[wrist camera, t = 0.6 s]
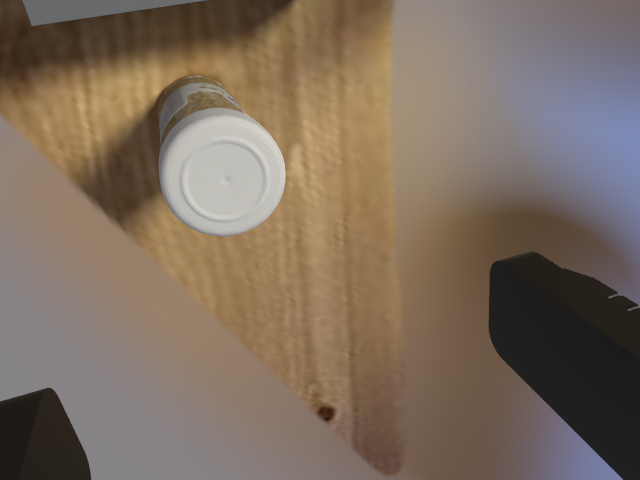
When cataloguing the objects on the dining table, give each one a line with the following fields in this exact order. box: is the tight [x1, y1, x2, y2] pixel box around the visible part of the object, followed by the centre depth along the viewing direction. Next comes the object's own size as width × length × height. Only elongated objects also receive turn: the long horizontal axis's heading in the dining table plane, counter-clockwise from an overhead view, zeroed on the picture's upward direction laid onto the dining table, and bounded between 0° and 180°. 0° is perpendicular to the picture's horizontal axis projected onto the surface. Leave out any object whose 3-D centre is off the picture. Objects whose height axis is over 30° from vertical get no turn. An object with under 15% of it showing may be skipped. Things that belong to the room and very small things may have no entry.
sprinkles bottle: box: [158, 75, 286, 236], centre depth 24 cm, size 5×5×13 cm
